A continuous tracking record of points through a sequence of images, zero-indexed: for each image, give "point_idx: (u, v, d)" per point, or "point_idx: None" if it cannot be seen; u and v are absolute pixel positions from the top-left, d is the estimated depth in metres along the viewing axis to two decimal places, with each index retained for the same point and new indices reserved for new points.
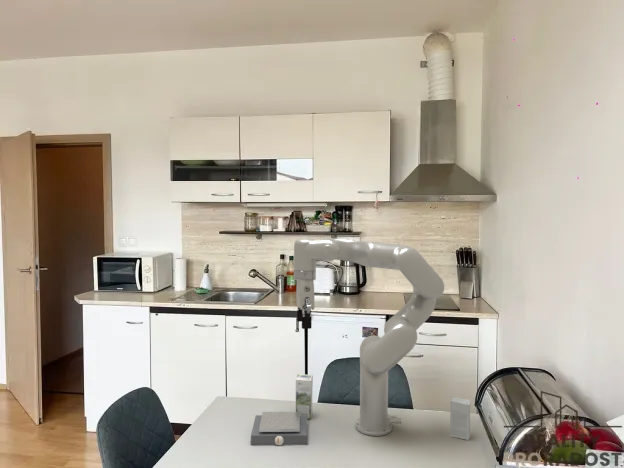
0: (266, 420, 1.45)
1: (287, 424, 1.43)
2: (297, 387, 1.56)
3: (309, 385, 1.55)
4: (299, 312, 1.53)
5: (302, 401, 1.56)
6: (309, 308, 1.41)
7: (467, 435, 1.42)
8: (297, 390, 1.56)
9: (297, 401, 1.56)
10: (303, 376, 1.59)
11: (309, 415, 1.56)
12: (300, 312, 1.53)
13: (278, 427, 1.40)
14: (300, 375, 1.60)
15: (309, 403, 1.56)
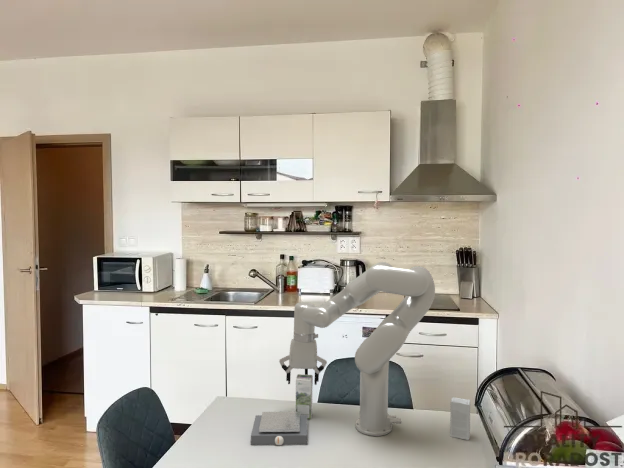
0: (266, 420, 1.45)
1: (287, 424, 1.43)
2: (297, 387, 1.56)
3: (309, 385, 1.55)
4: (290, 374, 1.58)
5: (302, 401, 1.56)
6: None
7: (467, 435, 1.42)
8: (297, 390, 1.56)
9: (297, 401, 1.56)
10: (303, 376, 1.59)
11: (309, 415, 1.56)
12: (290, 374, 1.58)
13: (278, 427, 1.40)
14: (300, 375, 1.60)
15: (309, 403, 1.56)
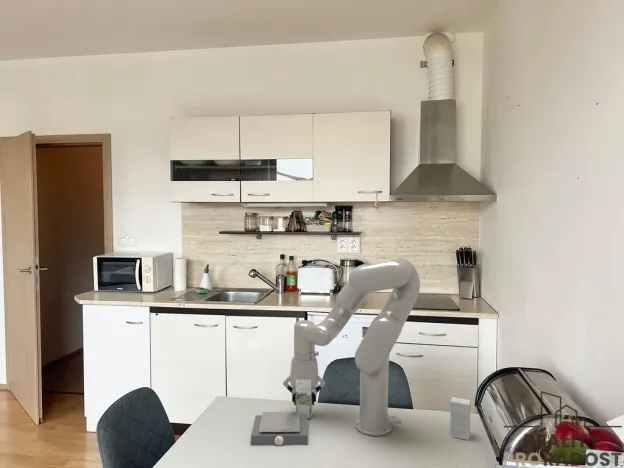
0: (266, 420, 1.45)
1: (287, 424, 1.43)
2: (297, 387, 1.56)
3: (309, 385, 1.55)
4: None
5: (303, 401, 1.56)
6: None
7: (467, 435, 1.42)
8: (297, 390, 1.56)
9: (297, 401, 1.56)
10: None
11: (309, 415, 1.56)
12: None
13: (278, 427, 1.40)
14: None
15: (309, 403, 1.56)
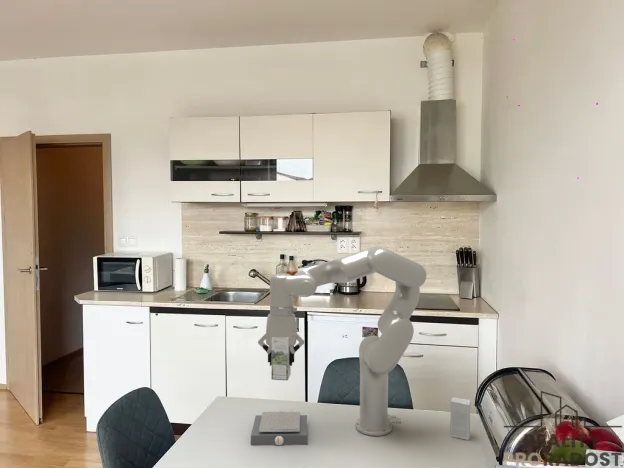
0: (266, 420, 1.45)
1: (287, 424, 1.43)
2: (273, 345, 1.42)
3: (286, 343, 1.42)
4: None
5: (279, 360, 1.42)
6: None
7: (467, 435, 1.42)
8: (273, 348, 1.42)
9: (273, 361, 1.43)
10: None
11: (286, 376, 1.42)
12: None
13: (278, 427, 1.40)
14: None
15: (286, 363, 1.42)
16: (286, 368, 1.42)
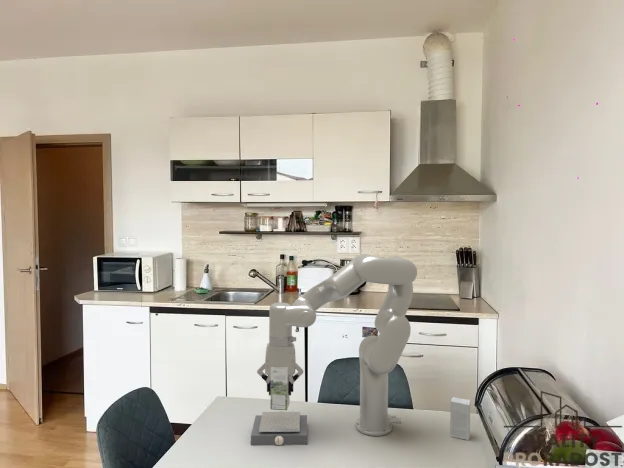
0: (266, 420, 1.45)
1: (287, 424, 1.43)
2: (272, 375, 1.42)
3: (285, 373, 1.42)
4: None
5: (278, 390, 1.42)
6: None
7: (467, 435, 1.42)
8: (272, 378, 1.42)
9: (272, 391, 1.43)
10: None
11: (285, 406, 1.42)
12: None
13: (278, 427, 1.40)
14: None
15: (285, 393, 1.42)
16: (285, 398, 1.42)
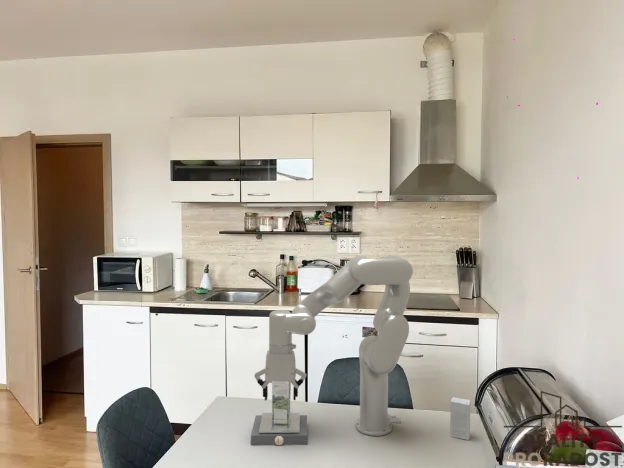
0: (266, 422, 1.45)
1: (287, 425, 1.43)
2: (273, 390, 1.42)
3: (287, 387, 1.42)
4: (267, 390, 1.44)
5: (280, 405, 1.43)
6: (305, 376, 1.45)
7: (467, 435, 1.42)
8: (274, 393, 1.43)
9: (274, 405, 1.43)
10: None
11: (287, 420, 1.43)
12: (267, 389, 1.45)
13: (278, 428, 1.40)
14: None
15: (287, 407, 1.43)
16: (287, 412, 1.43)
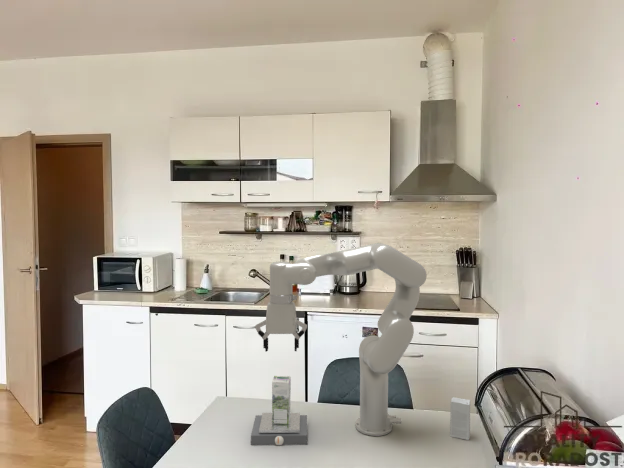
0: (266, 421, 1.45)
1: (287, 425, 1.43)
2: (274, 390, 1.42)
3: (287, 387, 1.42)
4: (267, 341, 1.44)
5: (280, 405, 1.43)
6: (306, 327, 1.45)
7: (467, 435, 1.42)
8: (274, 393, 1.43)
9: (274, 405, 1.43)
10: (280, 378, 1.45)
11: (287, 420, 1.43)
12: (267, 341, 1.44)
13: (278, 428, 1.40)
14: (277, 377, 1.46)
15: (287, 407, 1.43)
16: (287, 412, 1.43)
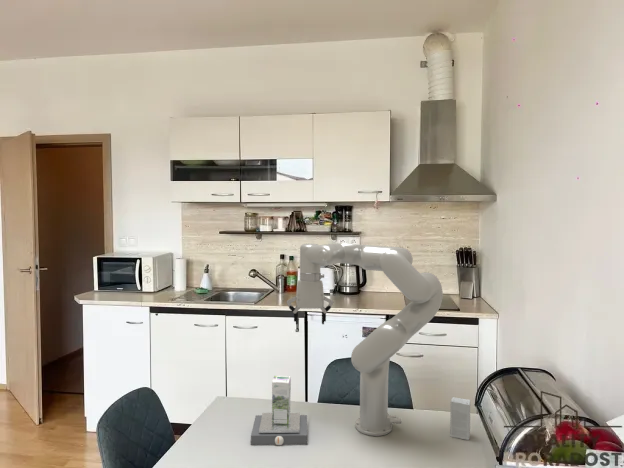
0: (266, 422, 1.45)
1: (287, 425, 1.43)
2: (274, 390, 1.42)
3: (287, 387, 1.42)
4: (297, 315, 1.59)
5: (280, 405, 1.43)
6: (332, 303, 1.61)
7: (467, 435, 1.42)
8: (274, 393, 1.43)
9: (274, 405, 1.43)
10: (280, 378, 1.45)
11: (287, 420, 1.43)
12: (297, 315, 1.60)
13: (278, 428, 1.40)
14: (277, 377, 1.46)
15: (287, 407, 1.43)
16: (287, 412, 1.43)
